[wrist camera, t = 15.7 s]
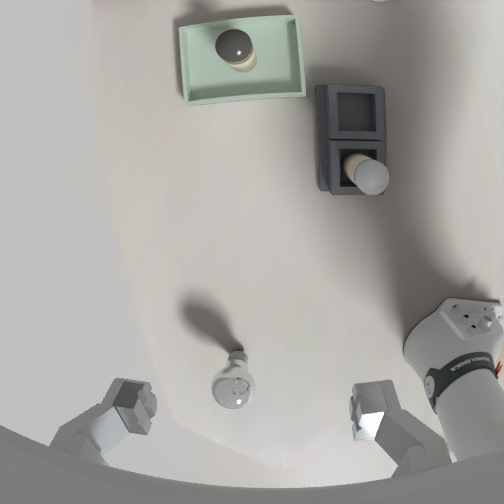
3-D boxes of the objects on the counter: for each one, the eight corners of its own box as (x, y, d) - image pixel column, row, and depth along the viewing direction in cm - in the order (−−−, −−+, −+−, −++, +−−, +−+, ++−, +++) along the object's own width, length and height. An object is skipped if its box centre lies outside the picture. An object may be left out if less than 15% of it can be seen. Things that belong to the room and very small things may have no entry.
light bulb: (211, 348, 55) (197, 399, 44) (242, 331, 53) (233, 383, 42) (236, 371, 57) (227, 422, 46) (266, 357, 54) (263, 409, 44)
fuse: (367, 151, 38) (389, 160, 30) (367, 178, 40) (388, 195, 32) (340, 150, 39) (356, 160, 30) (340, 178, 40) (355, 195, 32)
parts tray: (297, 20, 33) (298, 14, 31) (304, 97, 37) (306, 95, 35) (184, 31, 34) (178, 27, 32) (189, 106, 39) (184, 105, 36)
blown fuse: (256, 45, 34) (250, 27, 26) (258, 71, 36) (253, 59, 28) (227, 48, 35) (213, 31, 27) (229, 74, 36) (216, 63, 28)
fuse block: (381, 88, 36) (390, 86, 32) (383, 189, 41) (391, 195, 38) (315, 86, 36) (318, 83, 33) (320, 189, 42) (323, 195, 39)
